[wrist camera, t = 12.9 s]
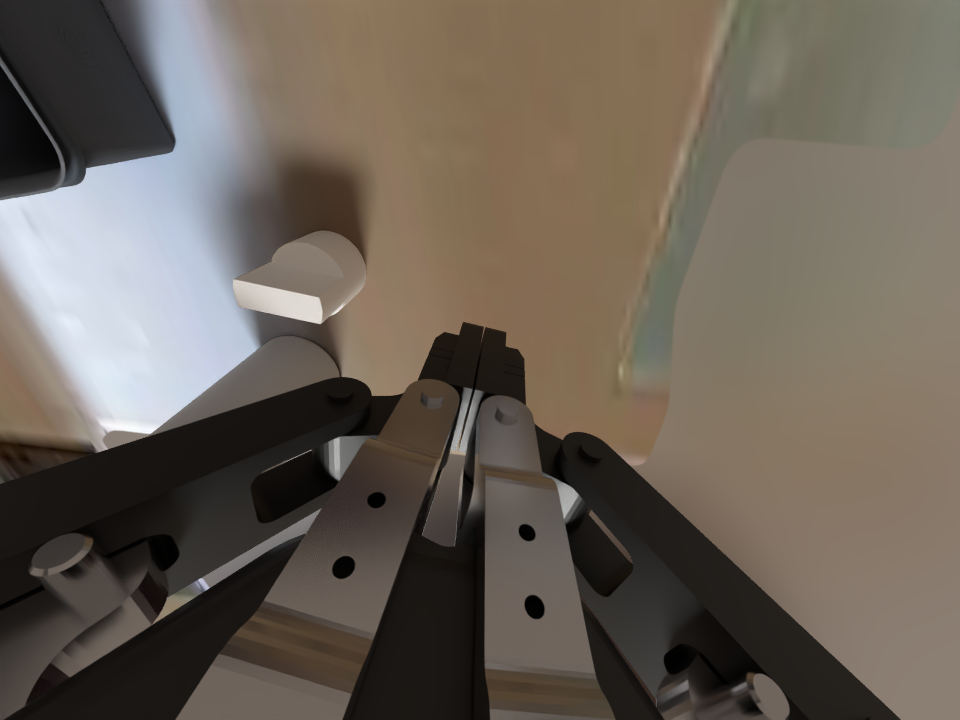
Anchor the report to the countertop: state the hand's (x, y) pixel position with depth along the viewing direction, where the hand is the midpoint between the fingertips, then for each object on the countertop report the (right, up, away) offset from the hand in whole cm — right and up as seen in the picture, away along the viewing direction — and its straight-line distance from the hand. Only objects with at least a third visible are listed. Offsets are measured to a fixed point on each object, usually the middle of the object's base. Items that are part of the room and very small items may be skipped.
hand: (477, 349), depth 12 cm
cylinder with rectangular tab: (-19, +12, +33) cm, 40 cm away
